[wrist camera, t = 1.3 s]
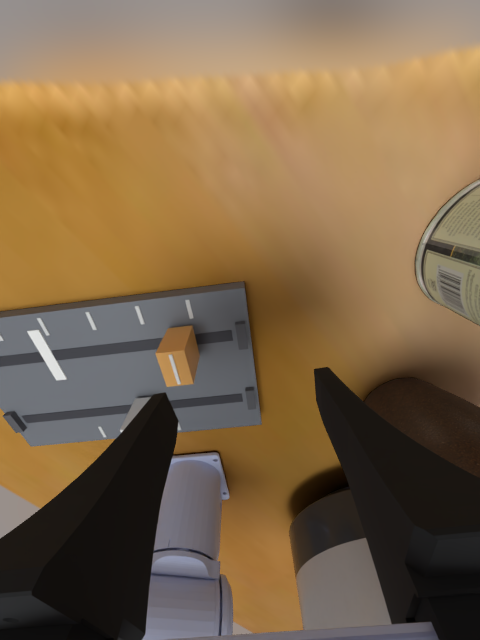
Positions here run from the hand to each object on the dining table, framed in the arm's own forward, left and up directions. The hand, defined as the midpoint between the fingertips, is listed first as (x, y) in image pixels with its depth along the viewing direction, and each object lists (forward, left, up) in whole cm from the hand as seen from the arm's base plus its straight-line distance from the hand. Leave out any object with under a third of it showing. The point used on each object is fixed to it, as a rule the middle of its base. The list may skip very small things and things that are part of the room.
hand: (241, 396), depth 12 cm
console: (-5, +12, -10) cm, 17 cm away
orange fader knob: (-2, +5, -9) cm, 10 cm away
